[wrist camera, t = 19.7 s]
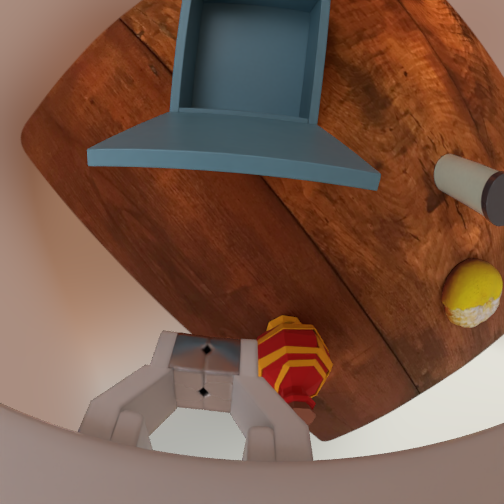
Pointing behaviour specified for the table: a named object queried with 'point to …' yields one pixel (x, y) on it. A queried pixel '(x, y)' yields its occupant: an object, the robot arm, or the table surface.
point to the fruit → (472, 292)
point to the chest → (251, 58)
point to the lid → (236, 148)
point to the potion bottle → (294, 363)
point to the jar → (472, 185)
